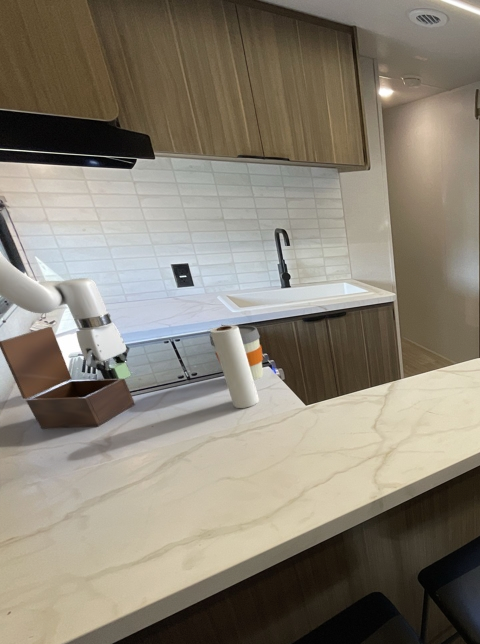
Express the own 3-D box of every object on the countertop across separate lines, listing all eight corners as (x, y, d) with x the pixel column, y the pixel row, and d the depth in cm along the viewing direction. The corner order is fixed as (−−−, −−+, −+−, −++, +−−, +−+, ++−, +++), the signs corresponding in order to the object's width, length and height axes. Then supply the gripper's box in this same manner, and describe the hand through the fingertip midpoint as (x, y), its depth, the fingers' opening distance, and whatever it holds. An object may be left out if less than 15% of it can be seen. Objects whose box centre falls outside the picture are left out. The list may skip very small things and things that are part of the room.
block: (120, 381, 124) (114, 368, 122) (105, 381, 124) (99, 368, 122) (131, 375, 128) (126, 362, 126) (117, 375, 128) (111, 363, 126)
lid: (51, 326, 100) (48, 326, 100) (0, 342, 89) (-3, 341, 89) (71, 378, 105) (68, 378, 105) (26, 398, 95) (22, 398, 95)
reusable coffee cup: (272, 379, 124) (260, 332, 118) (224, 389, 117) (208, 340, 111) (266, 366, 133) (255, 322, 127) (222, 375, 126) (207, 330, 120)
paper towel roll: (252, 408, 106) (229, 331, 98) (229, 409, 106) (204, 331, 97) (265, 396, 113) (245, 322, 104) (243, 397, 112) (221, 323, 104)
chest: (135, 404, 109) (124, 378, 106) (98, 426, 99) (84, 398, 96) (83, 406, 109) (71, 380, 106) (41, 428, 98) (25, 400, 95)
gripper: (105, 314, 126) (127, 368, 133) (52, 330, 111) (81, 390, 118) (129, 313, 126) (150, 367, 134) (80, 329, 111) (107, 389, 118)
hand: (118, 377), depth 126 cm, fingers closed on block, 4 cm apart
